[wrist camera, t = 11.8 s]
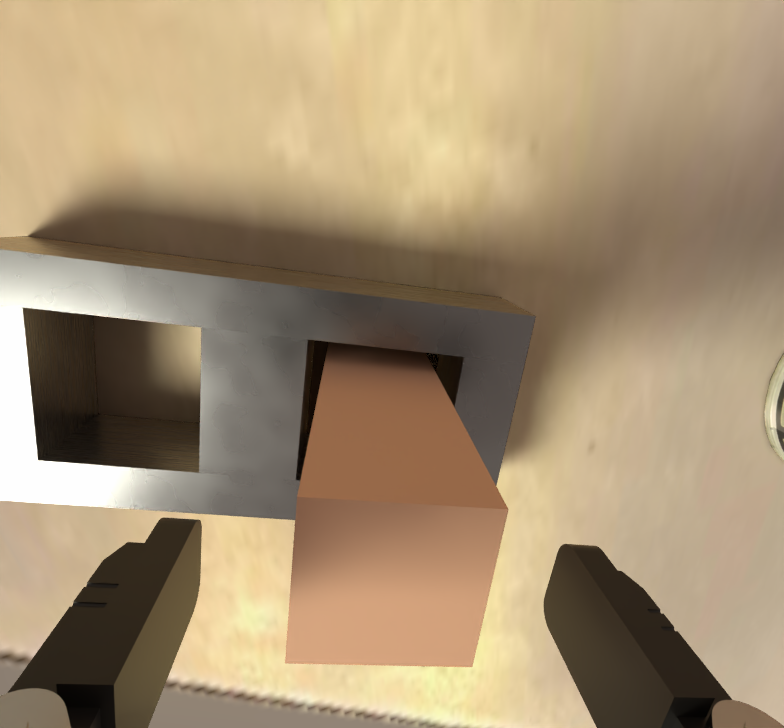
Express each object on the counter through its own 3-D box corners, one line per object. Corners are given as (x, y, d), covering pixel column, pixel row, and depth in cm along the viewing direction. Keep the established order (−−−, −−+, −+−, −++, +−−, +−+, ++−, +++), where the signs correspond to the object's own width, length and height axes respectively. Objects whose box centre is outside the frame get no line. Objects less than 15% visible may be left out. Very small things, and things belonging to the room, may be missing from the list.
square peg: (322, 420, 21) (285, 663, 9) (330, 335, 20) (297, 497, 8) (409, 427, 21) (472, 666, 10) (421, 344, 20) (508, 509, 9)
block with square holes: (46, 445, 20) (-26, 498, 16) (26, 236, 18) (-65, 241, 14) (463, 479, 22) (485, 532, 19) (500, 297, 20) (535, 316, 16)
